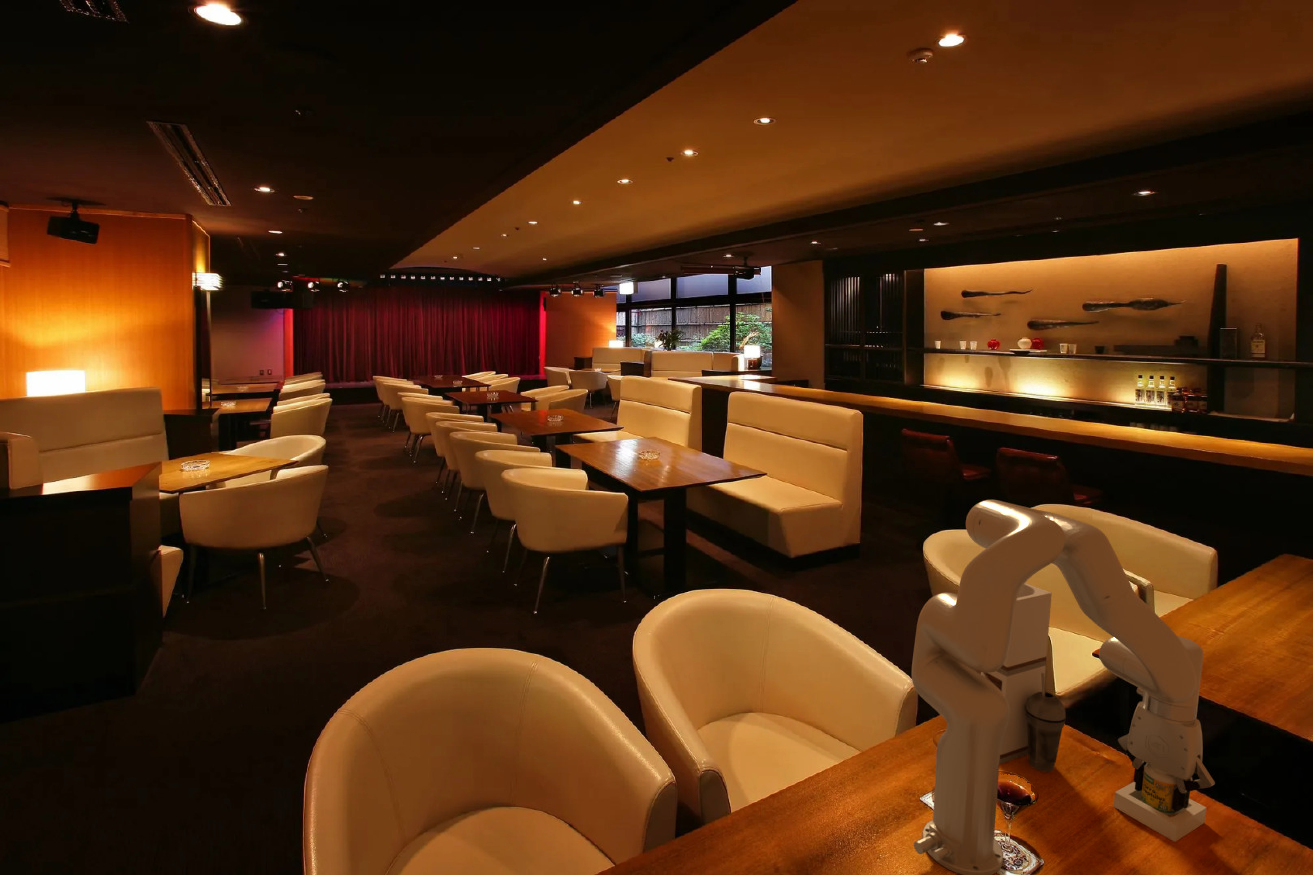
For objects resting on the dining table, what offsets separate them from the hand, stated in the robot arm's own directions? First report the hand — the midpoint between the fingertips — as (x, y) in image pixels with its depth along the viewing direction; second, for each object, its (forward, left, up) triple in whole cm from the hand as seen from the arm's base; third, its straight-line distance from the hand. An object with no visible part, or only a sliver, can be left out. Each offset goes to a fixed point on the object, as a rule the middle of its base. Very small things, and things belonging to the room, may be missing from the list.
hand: (1159, 797), depth 122 cm
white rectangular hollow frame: (0, 0, -3) cm, 3 cm away
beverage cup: (-5, +19, -4) cm, 20 cm away
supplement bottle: (0, 0, -2) cm, 2 cm away
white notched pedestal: (-6, +28, -4) cm, 29 cm away
